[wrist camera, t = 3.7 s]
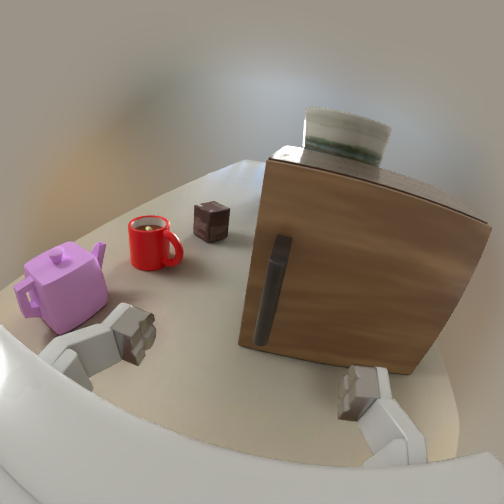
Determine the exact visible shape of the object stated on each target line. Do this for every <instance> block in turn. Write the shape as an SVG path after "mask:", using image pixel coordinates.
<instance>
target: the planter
mask: <svg viewBox="0 0 504 504" xmlns="http://www.w3.org/2000/svg"><path fill="white" fill-rule="evenodd" d="M390 133H391V128H390V127H389V126H387V125H385V124H382V123H380V122H377V121H374V120H371V119H368V118H365V117H362V116H358V115H355V114H351V113H347V112H342V111H338V110H333V109H327V108H321V107H307V108H306V114H305V133H304V149H308V150H313V151H317V152H322V153H326V154H330V155H334V156H339V157H343V158H346V159H350V160H354V161H358V162H361V163H365V164H369V165H372V166H376V167H379V166H380V163H381V161H382V158H383V155H384V152H385V149H386V146H387V143H388V140H389V136H390Z"/></svg>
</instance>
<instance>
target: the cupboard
mask: <svg viewBox="0 0 504 504" xmlns="http://www.w3.org/2000/svg"><path fill="white" fill-rule="evenodd" d="M268 160H274V161H279V162H284V163H289V164H294V165H299V166H304V167H309V168H313V169H318V170H322V171H326V172H331V173H335V174H339V175H343V176H347V177H351V178H355V179H358V180H362V181H366V182H369V183H373V184H376V185H380V186H383V187H387V188H390V189H393V190H396V191H400V192H403V193H406V194H409V195H412V196H415V197H418V198H421V199H424V200H427V201H429V202H432V203H435V204H438V205H441V206H443V207H446V208H449V209H451V210H454V211H456V212H459V213H461V214H464V215H466V216H469V217H471V218H474V219H476V220H478V221H481V222H483V223H485V224H487V222H486V221H485V220H483V219H482V218H480V217H479V216H478V215H477V214H475V213H474V212H472V211H471V210H470V209H468V208H467V207H465V206H464V205H462V204H461V203H459V202H458V201H456V200H455V199H453V198H452V197H450V196H448V195H447V194H446V193H444V192H442V191H441V190H439V189H438V188H436V187H434V186H432V185H430V184H427V183H424V182H421V181H419V180H416V179H413V178H410V177H407V176H404V175H401V174H398V173H395V172H392V171H388V170H386V169H382V168H379V167H376V166H372V165H369V164H365V163H361V162H358V161H354V160H350V159H346V158H343V157H339V156H334V155H330V154H326V153H322V152H317V151H313V150H308V149H303V148H298V147H292V146H287V145H286V146H284V147H283V148H282V149H280V150H279V151H277V152H276V153H275V154H273V155H272V156H271V157H269V159H268Z"/></svg>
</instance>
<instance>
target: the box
mask: <svg viewBox="0 0 504 504" xmlns="http://www.w3.org/2000/svg"><path fill="white" fill-rule="evenodd" d="M229 216H230V208H228V207H225V206H223V205H221V204H219V203H217V202H215V201H213V202H208V203H202V204H197V205H194V231H193V233H194V234H195V235H197V236H198V237H200V238H201V239H203V240H204V241H206V242H207V243H209V242H213V241H216V240H219V239H223V238H226V237H227V236H228V225H229Z"/></svg>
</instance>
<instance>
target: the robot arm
mask: <svg viewBox="0 0 504 504" xmlns="http://www.w3.org/2000/svg"><path fill="white" fill-rule="evenodd" d="M154 321H155V319H154V315H153V314H152V313H149V312H147V311H144V310H142V309H139V308H136V307H134V306H131V305H129V304H126V303H124V302H123V303H120V304H119V305H118V306H117V307H116V308H115V309H114V310H113V311H112V312H111V313H110V314H109V316H108V317H107V318H106V319H105V320H104V321H103V322H102V323H101V324H99V323H97V324H94V325H91V326H88V327H85V328H82V329H79V330H76V331H73V332H70V333H67V334H64V335H61V336H58V337H55V338H54V339H53V340H52V341H51V342H50V343H49V344H48V345H47V346H46V347H45V348H44V349H43V350H42V351H41V352H40V353H39V355H38V356H37V355H36V354H35V353H33V352H32V351H31V350H30V349H28V348H27V347H26V346H25V345H24V344H22V343H21V342H20V341H19V340H18V339H16V338H15V337H14V336H13V335H12V334H11V333H10V332H8V331H7V330H6V329H5V328H4V327H3V326H2V325H1V324H0V504H504V465H503V464H502V463H501V462H500V460H499V459H498V458H497V457H496V456H495V455H494V454H493V453H492V452H491V451H483V452H479V453H475V454H471V455H467V456H463V457H458V458H453V459H448V460H443V461H437V462H430V463H428V458H427V449H426V440H425V436H424V435H423V434H422V432H421V431H420V430H419V429H418V427H417V426H416V425H415V424H414V422H413V421H412V420H411V419H410V417H409V416H408V415H407V414H406V413H405V411H404V410H403V409H402V408H401V406H400V405H399V404H398V403H397V401H396V400H392V394H391V387H390V381H389V375H388V370H387V368H383V367H374V366H367V365H360V364H351V365H350V367H349V368H348V374H347V375H345V376H343V378H342V380H341V382H340V385H339V390H338V398H339V399H340V400H341V402H340V404H339V405H338V419H340V420H348V421H357V422H356V423H357V425H358V427H359V429H360V430H361V432H362V434H363V436H364V438H365V440H366V442H367V443H368V445H369V447H370V449H371V451H372V453H373V454H374V455H373V456H371V457H370V458H369V459H367V460H366V461H364V462H363V463H362V467H340V466H325V465H314V464H305V463H297V462H289V461H283V460H277V459H271V458H266V457H261V456H256V455H252V454H247V453H243V452H239V451H235V450H231V449H227V448H223V447H220V446H216V445H213V444H210V443H206V442H203V441H200V440H197V439H194V438H191V437H188V436H185V435H183V434H180V433H177V432H175V431H172V430H169V429H167V428H164V427H162V426H159V425H157V424H155V423H152V422H150V421H148V420H145V419H143V418H141V417H139V416H137V415H134V414H132V413H130V412H128V411H126V410H124V409H122V408H120V407H118V406H116V405H114V404H112V403H110V402H109V401H107V400H105V399H103V398H101V397H99V396H98V395H96V394H94V393H92V390H93V385H92V383H91V381H90V380H89V377H91V376H93V375H95V374H97V373H99V372H101V371H102V370H104V369H106V368H108V367H110V366H112V365H114V364H116V363H118V362H119V361H121V359H122V360H124V361H127V362H129V363H132V364H134V365H136V366H139V364H140V363H141V361H142V360H143V359H144V357H145V356H146V355H145V350H148V349H150V348H151V347H152V345H153V343H154V341H155V338H156V328H155V327H154V325H153V322H154Z"/></svg>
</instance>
